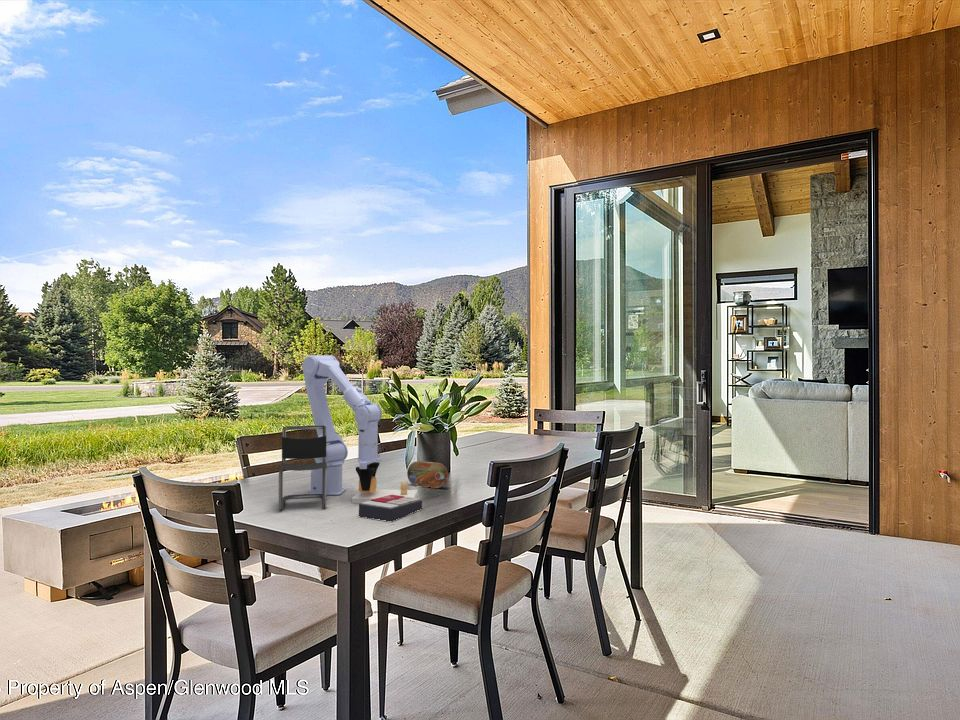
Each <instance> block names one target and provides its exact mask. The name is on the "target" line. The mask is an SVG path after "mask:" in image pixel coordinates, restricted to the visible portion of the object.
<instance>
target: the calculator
mask: <svg viewBox="0 0 960 720" xmlns="http://www.w3.org/2000/svg"><path fill="white" fill-rule="evenodd" d="M420 509H422V510H423V500H421V498H418V497H416V498H413V497H405V496H398V495H388V496H384V497H380V498H376V499H372V500H371V501H367V502H363V503H361V504H358V517H359V516H360V517H359V518H362V517H367V518H366V519H368V518H374V519H380V520H386V521H385V522H387V521H392V522H394V521H393V520H395V521H397V520H396V519H398V518H400V519H401V518H403V517H407V516H409V515H408V514H410V513H412V512H415V511H417V510H420ZM420 511H421V510H420ZM415 513H416V512H415ZM406 515H407V516H406ZM410 515H411V514H410ZM374 519H373V520H374ZM380 520H379V521H380ZM398 520H399V519H398Z"/></svg>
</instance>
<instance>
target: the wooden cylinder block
mask: <svg viewBox="0 0 960 720" xmlns="http://www.w3.org/2000/svg"><path fill="white" fill-rule="evenodd" d="M377 481H378V480H377V477H376V476H375V477H374V476H372V479H371V486H370V490H369V491H362V488H361V483H360V479H359V478H358V492H362V493H371V492H375V491H376V490H378V488H377Z"/></svg>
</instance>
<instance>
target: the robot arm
mask: <svg viewBox="0 0 960 720" xmlns="http://www.w3.org/2000/svg"><path fill="white" fill-rule="evenodd" d="M301 369H302V373H303V378H304V386H305V390H306V394H307V398H308V402H309V407H310V409H311V414H312V418H313V421H314V426H326V435H327V436H326V465H327V470H326V496H340V495H341V494H343V492H345V491H346V490H347V488H345V487H343V464H344V463H345V460H347V458H348V452H349V451H348V450H349V449H348V447H347V445H346V444H345V442H344V438H343V437H342V435H340V434H338V433H337V432H336V431H335V426H334V423H333V418H332V414H331V411H330V410H331V409H330V407H329V403H328V399H327V395H326V391H325V387H324V386H325V384H326V383H327V382H328V381H329V380H331V381H332V382H333V383H334V385H335V386H336V387H338V389H339V390H340V391H341V392H343V395H342V396H343V400H344V401H345V402H346V403H347V405H348V406H349V407H350V409H351V410H352V412H353V416H354V419H355V422H356V427H357V429H358V451H357V452H358V453H357V454H358V457H357V462H358V464H359V466H356V467H355V472H356V474H357V476H358V480H359V479H360V483H361V488H362V491H369V490H370V486H371V479H372V476H374V477H376V475H377V471H378V468H379V466H380V462H381V461H382V457H378V447H379V446H378V437H379V436H378V435H379V434H378V432H379V431H378V430H379V428H378V422H380V420H381V418H382V416H383V413H382V412H383V411H382V409H381V407H380V405H379V404H378V403H374V402H372V401H371V400H370V399H369V398H368V397H367V396H366V394H365V393H364V392H363V389H362V388H361V387H359V386H353V385H352V383H351V382H350V380H349V379H348V377H347V376H346V375H345V373H344V372H343V370H342V368H341V367H340V361H339V360H337V358H336V357H335V356H334V355H332V354H329V355H325V354H324V355H323V354H322V355H319V354H318V355H316V354H315V355H314V354H308V355H307V356H305V358H304V360H303V362H302V365H301ZM315 430H316V433H317V438H318V437H323V429H315ZM313 459H314V461H315V462H314V463H315V464H316V463H321V462H323V457H321V458H313ZM309 494H322V468H321V469H315V470H310V493H309Z"/></svg>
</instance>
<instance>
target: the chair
mask: <svg viewBox="0 0 960 720" xmlns="http://www.w3.org/2000/svg"><path fill="white" fill-rule="evenodd" d="M316 429H323V437H318V436H317V437H313V438H290V437H287V431H292V430H293V431H294V430H295V431H297V430H299V431H301V430H316ZM326 436H327V435H326V426H315V425H298V426H297V425H294V426H293V425H291V426H283V427H282V429H281V465H280V468H279V470H278V510H279V511H282V510H283V509H284V507H285V503H286V501H287V500H290V498H292V499H303V498H302V497H310V498H322V501H321V505H322V506H321V507H322V509H325V508H327V495H326V470H327V465H326ZM321 457H323V462H321V463H316V462H315V463H308V464H291V463H287V462H286V460H305V459H306V460H308V459H314V458H321ZM321 468H322V494H310V493H302V494H301V493H300V494H289V495H284V494H283V491H284V490H283V488H284V487H283V485H284V484H283V483H284V481H283V480H284V478H283V476H284V471H291V472H292V471H294V472H296V471H297V472H298V471H304V472H305V471H311V470H315V469H321ZM283 495H284V496H283Z"/></svg>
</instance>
